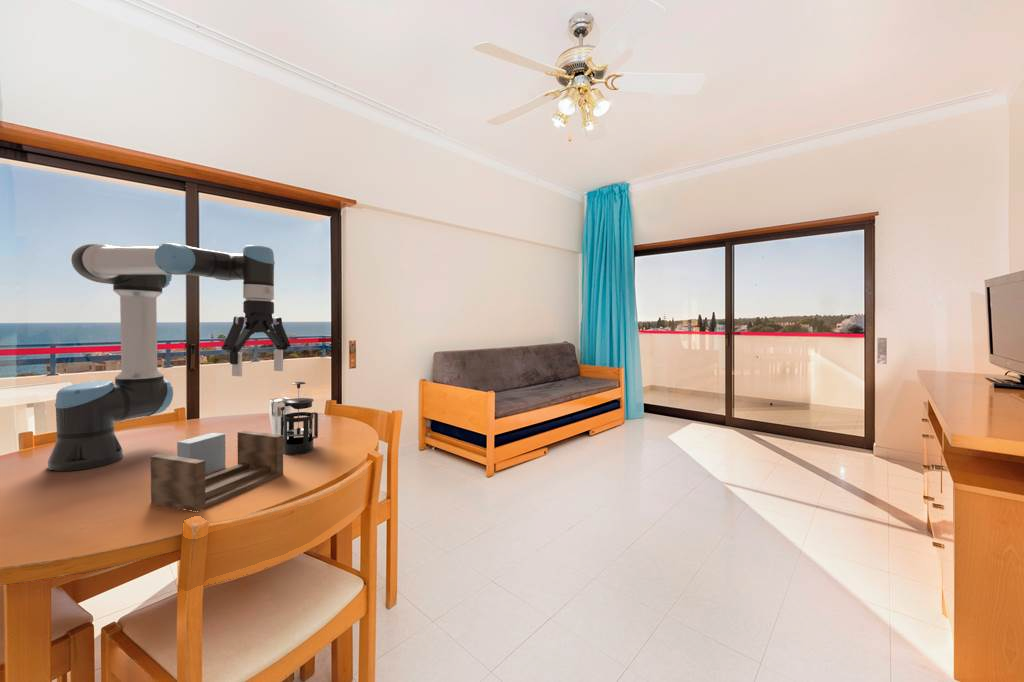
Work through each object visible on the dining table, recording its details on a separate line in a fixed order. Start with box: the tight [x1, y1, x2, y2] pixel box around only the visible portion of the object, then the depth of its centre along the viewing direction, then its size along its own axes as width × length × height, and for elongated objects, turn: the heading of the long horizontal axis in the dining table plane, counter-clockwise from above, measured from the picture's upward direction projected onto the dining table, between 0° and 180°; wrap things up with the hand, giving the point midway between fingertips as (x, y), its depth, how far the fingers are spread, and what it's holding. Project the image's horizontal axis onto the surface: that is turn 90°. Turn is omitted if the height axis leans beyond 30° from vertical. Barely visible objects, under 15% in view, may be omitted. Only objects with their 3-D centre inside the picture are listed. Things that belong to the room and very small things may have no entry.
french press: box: [283, 381, 319, 456], centre depth 134 cm, size 12×9×23 cm
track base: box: [150, 430, 284, 513], centre depth 104 cm, size 14×24×11 cm, turn 165°
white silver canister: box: [268, 397, 293, 441], centre depth 144 cm, size 7×7×15 cm
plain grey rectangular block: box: [176, 432, 226, 476], centre depth 113 cm, size 4×10×10 cm, turn 165°
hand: (258, 373), depth 117 cm, fingers open, 13 cm apart
